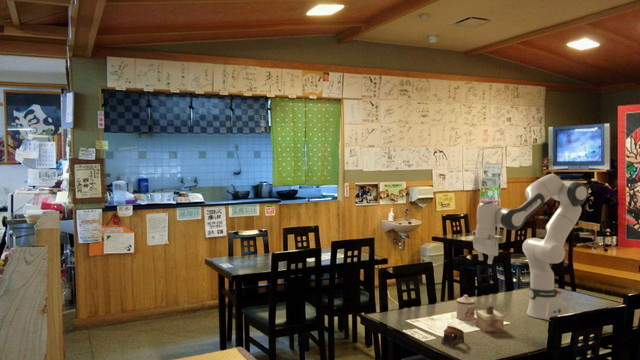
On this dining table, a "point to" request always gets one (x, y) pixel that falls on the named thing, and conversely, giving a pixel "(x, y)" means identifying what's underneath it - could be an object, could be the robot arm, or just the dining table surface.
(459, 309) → the teacup with lid
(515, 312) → the dining table surface
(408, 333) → the dining table surface
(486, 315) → the lid
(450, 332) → the brown lumpy figurine
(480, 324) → the box body
